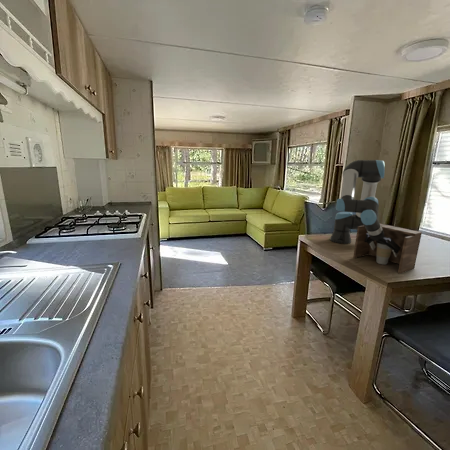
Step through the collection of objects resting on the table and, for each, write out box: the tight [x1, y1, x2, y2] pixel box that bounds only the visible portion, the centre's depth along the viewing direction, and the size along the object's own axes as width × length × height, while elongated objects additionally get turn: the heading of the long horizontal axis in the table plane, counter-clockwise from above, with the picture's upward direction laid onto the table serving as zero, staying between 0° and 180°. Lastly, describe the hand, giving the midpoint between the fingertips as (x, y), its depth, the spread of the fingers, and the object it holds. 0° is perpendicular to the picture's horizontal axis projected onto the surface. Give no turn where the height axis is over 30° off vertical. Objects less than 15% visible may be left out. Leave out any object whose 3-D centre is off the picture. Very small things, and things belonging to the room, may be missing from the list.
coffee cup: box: [375, 241, 392, 265], centre depth 156 cm, size 9×9×15 cm
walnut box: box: [352, 223, 423, 274], centre depth 155 cm, size 28×16×22 cm, turn 30°
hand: (385, 251), depth 156 cm, fingers open, 13 cm apart
